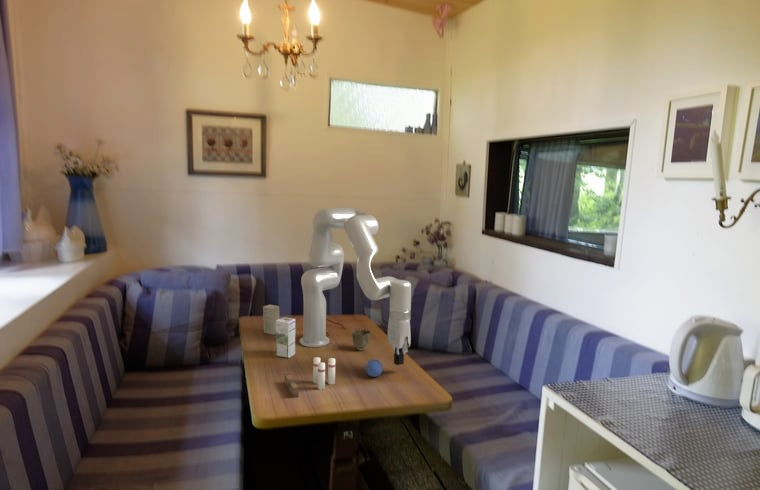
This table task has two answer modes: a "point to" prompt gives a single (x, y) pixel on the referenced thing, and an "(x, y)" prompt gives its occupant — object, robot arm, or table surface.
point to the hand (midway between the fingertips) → (398, 363)
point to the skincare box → (270, 318)
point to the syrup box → (285, 337)
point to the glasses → (334, 323)
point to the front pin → (331, 371)
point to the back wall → (291, 385)
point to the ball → (374, 368)
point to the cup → (361, 338)
